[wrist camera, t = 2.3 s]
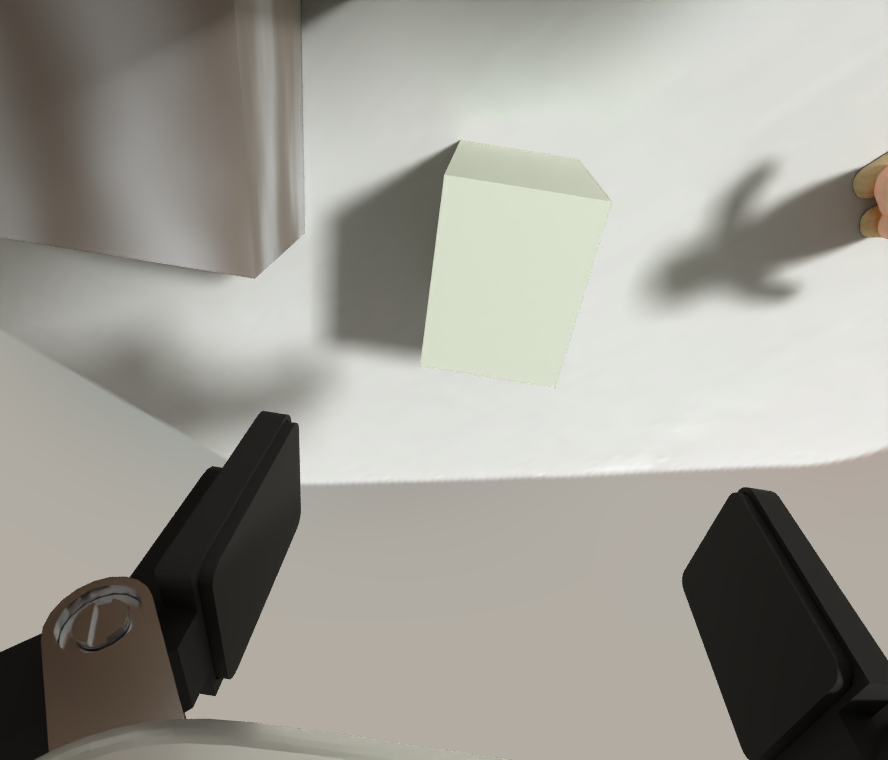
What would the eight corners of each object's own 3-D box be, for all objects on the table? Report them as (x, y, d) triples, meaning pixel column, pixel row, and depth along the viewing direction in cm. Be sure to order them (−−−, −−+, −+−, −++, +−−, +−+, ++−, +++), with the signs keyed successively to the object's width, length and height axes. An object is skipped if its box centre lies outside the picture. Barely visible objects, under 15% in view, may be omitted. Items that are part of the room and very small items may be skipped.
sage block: (578, 159, 25) (612, 201, 18) (537, 319, 30) (549, 406, 23) (460, 139, 25) (444, 174, 18) (437, 303, 30) (417, 384, 23)
